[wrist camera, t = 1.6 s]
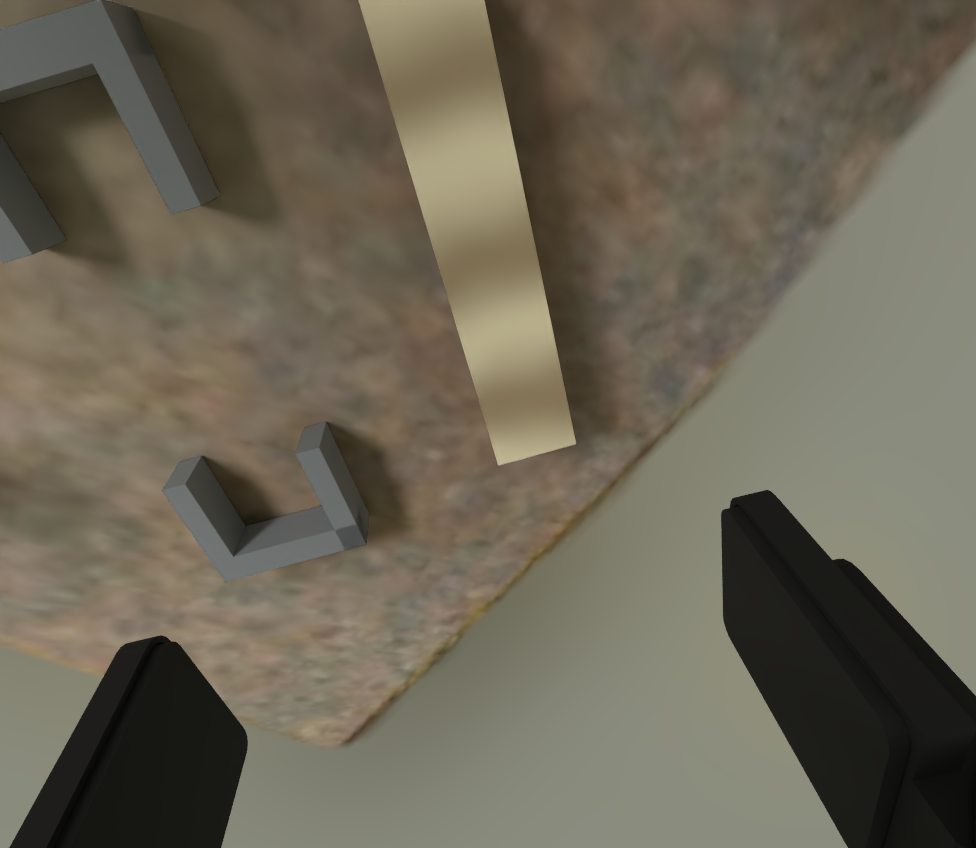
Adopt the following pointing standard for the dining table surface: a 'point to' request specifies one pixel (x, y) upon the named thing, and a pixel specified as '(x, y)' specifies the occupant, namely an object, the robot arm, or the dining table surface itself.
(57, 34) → the end cap
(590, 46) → the dining table surface
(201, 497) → the end cap
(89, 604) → the dining table surface
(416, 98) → the birch slat
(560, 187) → the dining table surface
